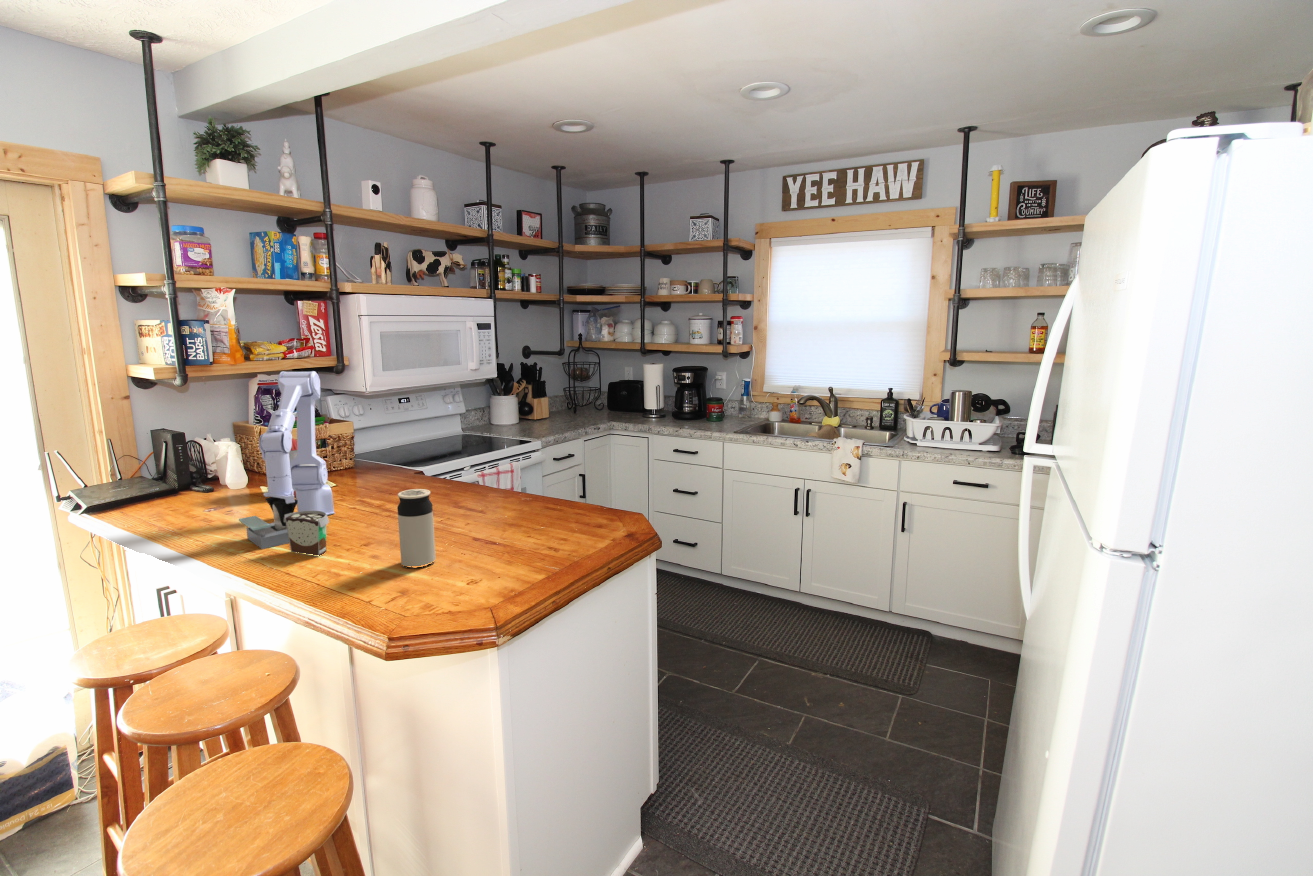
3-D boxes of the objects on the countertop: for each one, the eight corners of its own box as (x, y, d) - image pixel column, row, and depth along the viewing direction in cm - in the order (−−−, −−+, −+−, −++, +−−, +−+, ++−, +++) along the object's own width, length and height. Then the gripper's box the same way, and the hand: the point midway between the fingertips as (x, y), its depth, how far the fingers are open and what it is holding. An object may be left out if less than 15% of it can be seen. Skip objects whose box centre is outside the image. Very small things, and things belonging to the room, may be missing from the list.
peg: (289, 528, 178) (286, 501, 176) (294, 532, 175) (291, 504, 174) (273, 532, 175) (270, 504, 174) (277, 535, 172) (274, 507, 171)
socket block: (295, 528, 183) (293, 508, 182) (311, 538, 175) (309, 517, 174) (241, 540, 173) (238, 518, 172) (255, 550, 165) (253, 528, 164)
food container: (342, 549, 166) (339, 512, 164) (323, 557, 161) (320, 519, 159) (306, 544, 170) (303, 508, 168) (286, 551, 164) (282, 514, 163)
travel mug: (415, 571, 152) (410, 498, 148) (394, 564, 156) (389, 494, 153) (442, 561, 158) (438, 491, 155) (421, 555, 162) (417, 486, 159)
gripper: (253, 473, 174) (258, 521, 177) (271, 482, 165) (277, 532, 167) (281, 469, 179) (286, 515, 182) (301, 477, 170) (305, 526, 172)
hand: (284, 523), depth 175 cm, fingers closed on peg, 4 cm apart
